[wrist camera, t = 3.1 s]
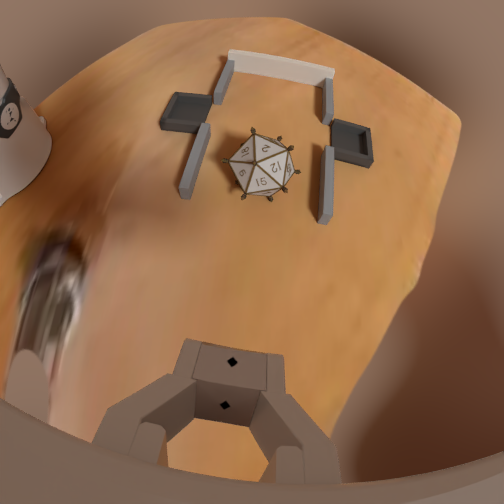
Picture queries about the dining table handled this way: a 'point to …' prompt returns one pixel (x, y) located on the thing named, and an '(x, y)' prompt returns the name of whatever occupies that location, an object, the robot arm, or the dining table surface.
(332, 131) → the trap lane
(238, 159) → the game die
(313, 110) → the dining table surface
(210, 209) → the dining table surface
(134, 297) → the dining table surface
